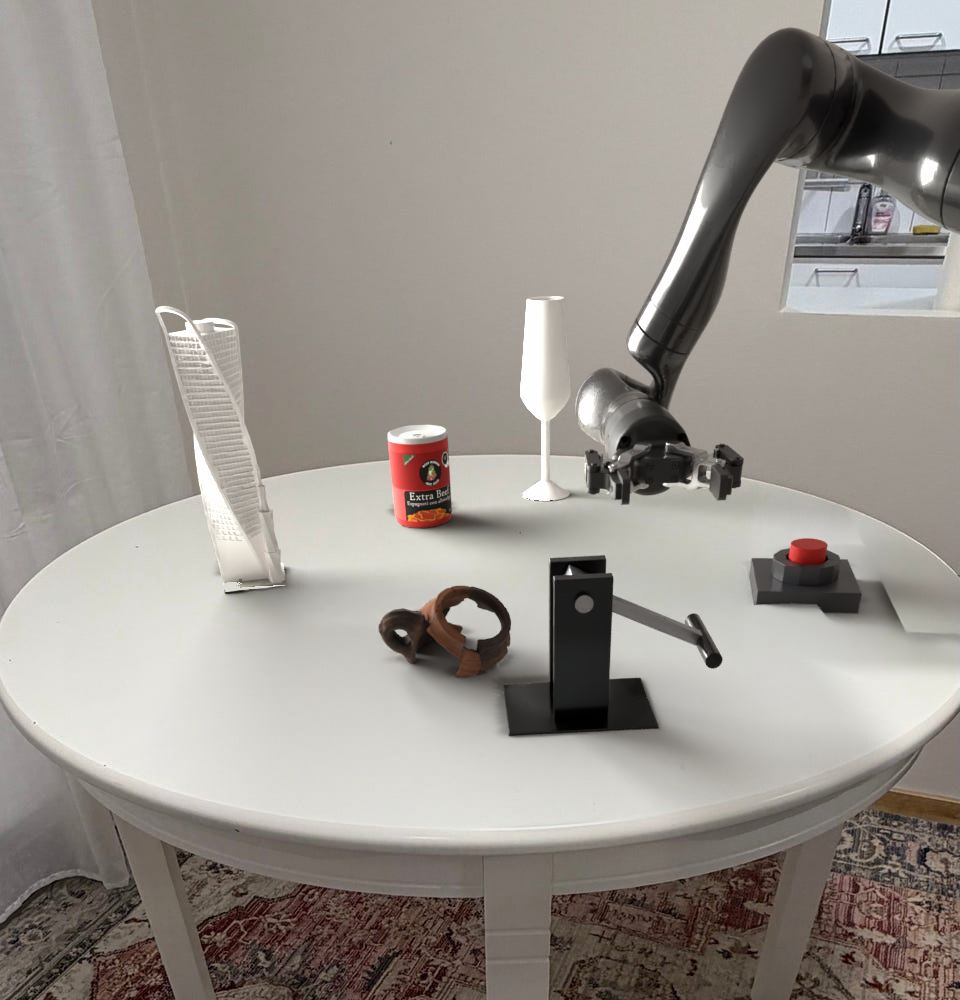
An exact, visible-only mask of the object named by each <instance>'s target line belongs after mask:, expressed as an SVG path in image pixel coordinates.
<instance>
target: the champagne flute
mask: <svg viewBox="0 0 960 1000" xmlns="http://www.w3.org/2000/svg"><path fill="white" fill-rule="evenodd" d="M565 302H566V300H565V297H564V296H559V295H557V296H556V295H544V296H542V295H541V296H534V297H533V296H532V297H527V299H526V307H525V321H524V322H525V323H524V334H523V335H524V336H523V351H522V352H523V353H522V366H521V380H520V394H519V395H520V398H521V400H522V402H523V404H524V405H525V407H526V408H527V410H528V411H530V412H531V414H532V415H533V416H535V418H537V420H540V422H541V425H540V426H541V427H540V429H541V433H540V434H541V435H540V437H541V439H540V441H541V442H540V443H541V447H540V449H541V454H540V455H541V479H540V481H538V482H537V483H536V484H534V485H532V486H531V487H529V488H528V489H527V490H525V491H523V492H522V494H523V496H522V498H524V499H526V498H528V499H527V500H529V499H530V500H529V501H534V500H539V501H538V502H551V501H550V500H553V501H559V500H562V499H565V498H567V497H569V496H570V491H568V490H567V489H565V488H564V487H562V486H561V485H558V484H557V483H556V482H554V481H552V480H551V420H553V419H554V418H555V417H557V415H558V414H559V413H560V412H561V411H562V410H564V408H565V407H566V405H567V403H568V401H569V399H570V397H571V394H572V389H571V388H572V387H571V373H570V359H569V345H568V344H569V343H568V329H567V314H566V303H565Z"/></svg>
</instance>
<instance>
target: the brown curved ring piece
mask: <svg viewBox="0 0 960 1000" xmlns="http://www.w3.org/2000/svg"><path fill="white" fill-rule="evenodd" d="M465 599H468V600H470V601H473V602H474V603H475V604H476V607H477V608H478V609H481V610H483V611H488V612H491V613H492V614H494V615H495V616H496V618H497V619H498V621H499V624H500V630H499V632H498V633H497V634H496V635H494V636H492V637H489V638H483V639H482V638H481V639H480V638H479V639H477V641H476V648H475V649H473V648H468V647H467V646H466V642H467V636H466V635H464V634H463V633H462V631H463V630H464V627H463V625H460V624H454V623H452V622H450V621H448V620H447V618H446V617H447V616H448V614H449V612H450V610H451V608H453V607H457V606H459V605H460V604H462V602H465ZM397 630H401V631H403V632H406V635H404V636H402V635H400V634H398V633H397V632H396V631H397ZM511 630H512V619H511V615H510V613H509V611H508V609H507V607H506V606H505V605H504V603H503V602H502V601H501V600H500V599H499V597H497V596H495V595H494V594H493V593H490V592H489V591H487V590H485V589H482V588H479V587H476V586H470V585H469V586H468V585H454V586H450V587H447V588H446V587H445V589H443V590H442V591H440V592H439V593H438V594H437V596H436V597H434V598H431V599H430V600H429V601H427V602H425V604H424V605H423V606H421V608H419V609H417V610H411V609H407V608H403V607H402V608H395V609H392V610H390V611H388V612H386V613H385V614H384V615H383V617H381V620H380V622H379V623H378V633H379V635H380V637H381V640H382V641H383V643H384V644H385V645H386V647H388V648H389V649H390V650H392V652H395V653H398V654H400V655H402V656H403V657H404V658H405V660H406V661H407V662H408V663H409V664H410V665H415V664H416V663H417V655H416V654H417V651H418V650H419V648H421V647H422V646H423V645H425V644H427V643H429V642H432V641H436V643H437V644H439V645H440V646H442V647H443V648H444V649H445V650H446V651H447V652H448V653H449V654H451V655H452V656H454V657H455V658H457V659H459V660H460V661H459V666H458V670H457V671H456V672H455V675H454V677H455V678H469V677H470V678H471V677H476V676H478V675H479V674H485V673H486V672H488V671H489V670H491V669H492V668H494V667H495V666H496V665H498V664H499V663H500V662H501V661H502V660H503V659H504V658H505V657H506V655H507V654H508V652H509V650H508V647H510V646H511V640H512V639H511Z"/></svg>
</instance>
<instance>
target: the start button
mask: <svg viewBox="0 0 960 1000" xmlns="http://www.w3.org/2000/svg"><path fill="white" fill-rule="evenodd" d="M789 548H790V551H789V558H788V560H789V561H791V562H794V563H799V564H812V565H816V564H821V563H824V562H825V558H826V552H827V550H828V543H827V542H826V541H824V540H822V539H818V538H811V537H807V538H805V537H803V538H796V539H794V540H792V541H791V542H790V546H789Z"/></svg>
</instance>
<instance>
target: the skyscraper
mask: <svg viewBox="0 0 960 1000" xmlns="http://www.w3.org/2000/svg"><path fill="white" fill-rule="evenodd" d="M165 312H166V313H171V314H176V315H177V316H179V317H182V318H183V319H185V320H186V322H184V325H185V329H186V330H180V331H175V332H169V333H168V331H167V327H166V325H165V323H164V320H163V318H162V315H161V314H160V313H165ZM155 316H156V318H157V320H158V322H159V324H160V327H161V330H162V332H163V335H164V338H165V342H166V346H167V349H168V353H169V358H170V362H171V365H172V369H173V372H174V376H175V379H176V383H177V387H178V390H179V393H180V397H181V401H182V403H183V406H184V410H185V412H186V415H187V419H188V421H189V425H190V427H191V429H192V433H193V446H194V447H193V448H194V458H195V465H196V472H197V479H198V485H199V492H200V496H201V500H202V505H203V506H202V507H203V511H204V514H205V519H206V523H207V527H208V531H209V535H210V539H211V543H212V547H213V551H214V554H215V558H216V562H217V566H218V569H219V572H220V576H221V579H222V583H223V584H224V583H227V582H237V583H238V582H240V583H242V584H240V583H239V584H240V585H238V587H239V586H240V588H242V587H255V586H273V585H287V578H285V577H286V571H285V570H284V569H285V563H284V562H282V557H281V555H282V554H281V550H282V549H280V548H279V544H278V540H277V536H276V533H275V523H274V510H273V509H270V507H269V505H268V500H267V492H266V491H267V490H266V485H265V484H263V480H262V475H261V468H259V464H258V459H257V456H256V452H255V448H254V446H253V443H252V439H251V436H250V433H249V430H248V428H247V425H246V422H245V394H244V393H245V392H244V391H245V390H244V377H243V375H244V374H243V364H242V354H241V342H240V331H239V327H238V324H237V323H236V322H235V321H233V320H230V319H225V318H218V317H206V318H203V319H196V320H193V319H192V318H191V317H190V316H189V315H188V314H187V313H186V312H185V311H182V310H181V309H179V308H176V307H173V306H168V305H161V306H158V307H156V309H155ZM215 324H219V325H225V326H230V327H216V326H215ZM236 586H237V585H236Z"/></svg>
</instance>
